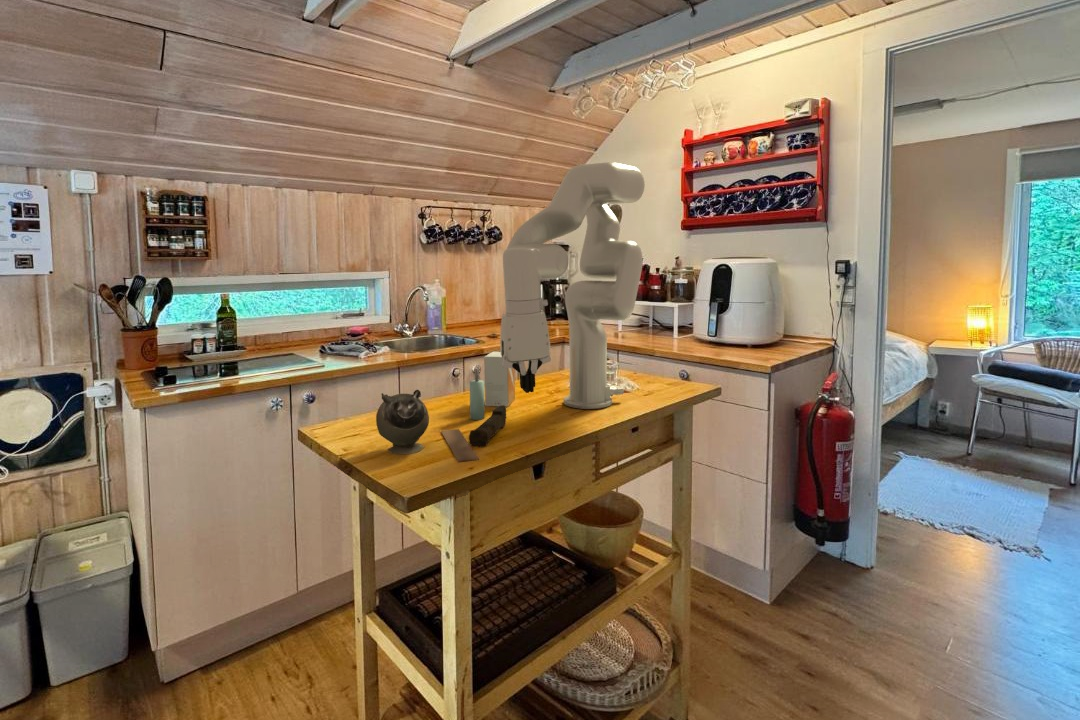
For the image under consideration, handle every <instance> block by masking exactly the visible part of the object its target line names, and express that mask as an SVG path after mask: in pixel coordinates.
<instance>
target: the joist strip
mask: <svg viewBox="0 0 1080 720" xmlns="http://www.w3.org/2000/svg"><path fill="white" fill-rule="evenodd" d="M440 433H441V434H442V437H443V438H444V440H445V442H446V443H447V445H448V447H449V448H450V450H451V453H453V455H454V457H455V459H456V461H457V462H458V463H462V462H470V461H471V462H472V461H479V460H480V458H479V456H478V455H477V453H476V451H475V450H474V449H473V447H472V446H471V444H470V443H469V441H468V440H467V438H466V437H465V436H464V434H463V433H462V431H461V430H460V429H459V428H456V429H455V428H454V429H447V430H441V431H440Z"/></svg>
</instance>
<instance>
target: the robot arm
mask: <svg viewBox="0 0 1080 720" xmlns="http://www.w3.org/2000/svg"><path fill="white" fill-rule="evenodd" d="M645 187H646V185H645V178H644V175H643V173H642V172H641V170H640V169H639V168H637V167H636V166H633V165H627V164H624V163H623V164H622V163H618V162H610V161H608V162H596V163H586V164H585V163H583V164H579V165H575V166H573V167H571V168H570V169H568V171H567V173H566V174H565V176H564V177H563V179H562V180H561V183H560V185H559V186H558V188H557V190H556V192H555V194H554V195H553V198H552V199H551V201H550V203H549V205H548V206H547V207H544V208H543V209H542V210H540V211H539V212H537V213H536V214H534V215H533V216H532V217H530V218H529V219H528V220H526V221H525V222H524V223H522V224H521V225H520V226H519V227H518V228H517V230H516V231H515V233H514V234H513V235H512V237H511V238H510V241H509V243H508V245H507V246H506V249H505V250H504V251H503V253H502V267H503V268H502V269H503V283H504V284H503V286H504V303H505V313H503V314H502V315H501V320H500V337H499V340H500V345H499V346H500V352H501V356H502V357H503V360H502V366H503V367H505V368H514V369H515V371H517V373H519V387H520V389H521V390H522V391H524V393H526V394H530V393H534V391H535V390H534V388H536V374H537V372H538V370H539V369H540V367H541V366H542V365H545V364H547V363H550V362H551V359H552V358H551V341H550V332H549V331H550V330H549V326H548V322H547V320H548V319H547V316H546V313H545V311H544V310H543V308H544V307H547V306H548V305H549V302H548V299H543V298H542V294H541V293H542V290H541V280H555V279H558V278H560V277H562V276H563V275H564V274H565V273H566V271H567V269H568V267H569V256H568V252H567V251H566V250H565V248H563V247H562V246H561V245H560V244H559V245H558V244H555V243H547V242H549V241H553V240H555V239H557V238H561V237H563V236H566V235H568V234H571V233H573V232H574V231H577V230H578V229H579V228H580V227H581V225H582V223H583V221H584V219H585V217H586V223H587V225H586V230H585V231H586V232H585V235H584V240H583V241H584V242H583V244H582V250H581V253H580V258H579V270H580V273H581V274H582V275H584V276H585V277H587V278H590V279H599V280H579V281H574V283H572V284H570V285H569V286H568V287H567V289H566V291H565V297H564V302H565V307H566V313H567V319H568V329H569V330H568V331H569V333H568V335H569V337H568V338H569V339H568V340H569V342H568V344H569V350H568V351H569V355H568V356H569V395H567V396H565V397H564V398H563V404H564V405H565V406H567V407H570V408H574V409H582V410H595V409H596V410H598V409H603V408H607V407H610V406H611V405H612V404H613V398H612V397H613V396H614V395H617V396H618V395H623V394H624V393H625V390H624V387H623V386H618V387H615V386H610V385H608V384H607V378H608V377H607V376H608V374H607V373H608V372H607V371H608V370H607V366H608V365H607V362H608V361H607V355H608V354H607V353H608V352H607V351H608V349H607V348H608V336H607V333H606V330H605V328H604V325H603V324H602V323H601V320H602V321H603V320H604V321H625V320H627V319H629V318H630V317H631V315H632V314H633V312H634V309H635V305H636V300H637V296H638V292H639V285H640V281H641V280H640V279H641V275H642V270H643V263H644V262H643V261H644V260H643V252H642V249H641V247H640V245H639V244H638V243H636V242H635V241H633V240H619V236H620V231H621V223H620V221H619V220H618V217H617V216H616V214H615V213H614V212H613V211H612V209H611V208H610V206H609V205H617V204H618V205H619V204H632V203H635V202H638V201H639V200H640V199H641V198H642V196H643V194H644V192H645ZM601 279H603V280H601ZM613 280H615V281H613ZM525 362H527V369H526V364H525Z"/></svg>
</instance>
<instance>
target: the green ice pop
mask: <svg viewBox="0 0 1080 720" xmlns="http://www.w3.org/2000/svg"><path fill="white" fill-rule="evenodd" d="M479 372H480V371H479V368H474V379H472V380H469V418H470V420H473V421H481V420H484V419H485V380H483V379H479Z"/></svg>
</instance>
